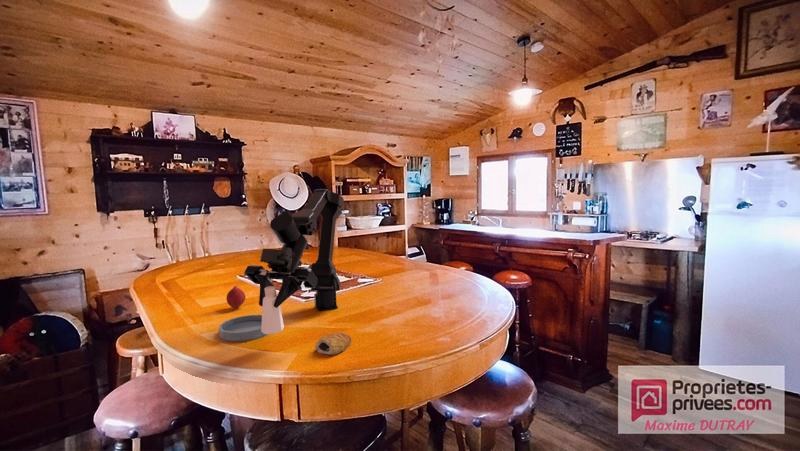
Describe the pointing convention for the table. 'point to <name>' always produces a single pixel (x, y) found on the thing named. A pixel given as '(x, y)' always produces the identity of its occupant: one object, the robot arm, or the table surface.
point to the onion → (235, 297)
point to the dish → (241, 328)
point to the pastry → (333, 343)
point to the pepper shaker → (271, 313)
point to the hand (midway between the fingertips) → (267, 306)
